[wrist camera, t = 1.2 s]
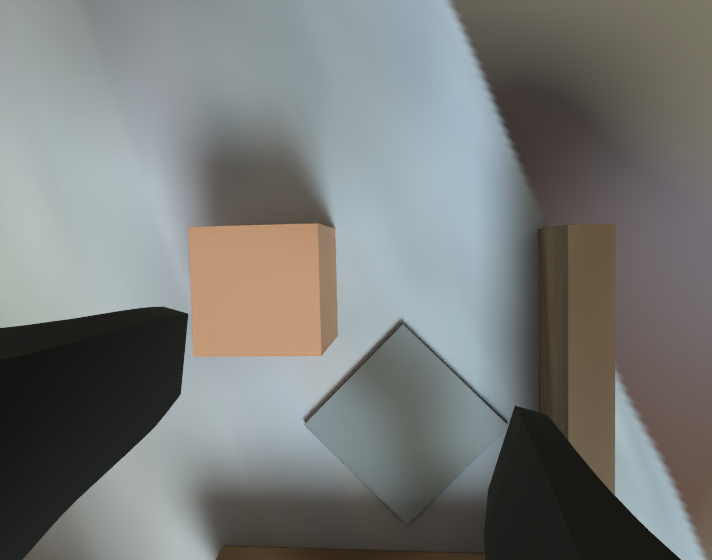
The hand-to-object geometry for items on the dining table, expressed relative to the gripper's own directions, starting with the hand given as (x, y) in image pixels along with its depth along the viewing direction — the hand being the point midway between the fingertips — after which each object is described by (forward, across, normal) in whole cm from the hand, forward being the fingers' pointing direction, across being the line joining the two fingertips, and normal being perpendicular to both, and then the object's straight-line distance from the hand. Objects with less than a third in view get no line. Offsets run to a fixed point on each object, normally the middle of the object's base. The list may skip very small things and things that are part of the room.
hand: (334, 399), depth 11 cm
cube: (+11, +5, +2) cm, 12 cm away
